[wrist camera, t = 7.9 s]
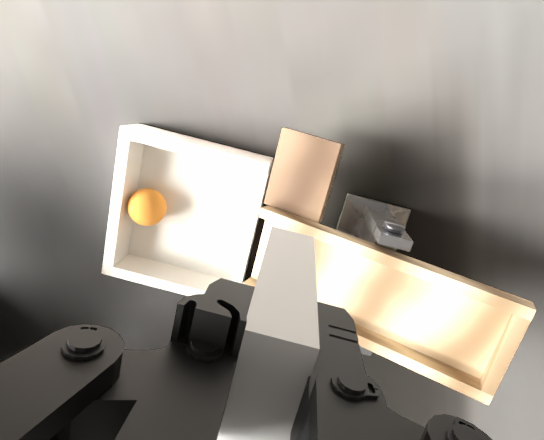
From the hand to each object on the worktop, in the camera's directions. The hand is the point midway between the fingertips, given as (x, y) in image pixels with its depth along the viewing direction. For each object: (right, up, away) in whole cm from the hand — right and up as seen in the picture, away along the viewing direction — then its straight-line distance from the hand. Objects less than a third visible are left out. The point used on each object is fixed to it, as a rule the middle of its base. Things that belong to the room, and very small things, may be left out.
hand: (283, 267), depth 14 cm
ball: (-12, +3, +23) cm, 26 cm away
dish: (-8, +3, +25) cm, 27 cm away
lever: (+8, -1, +17) cm, 19 cm away
